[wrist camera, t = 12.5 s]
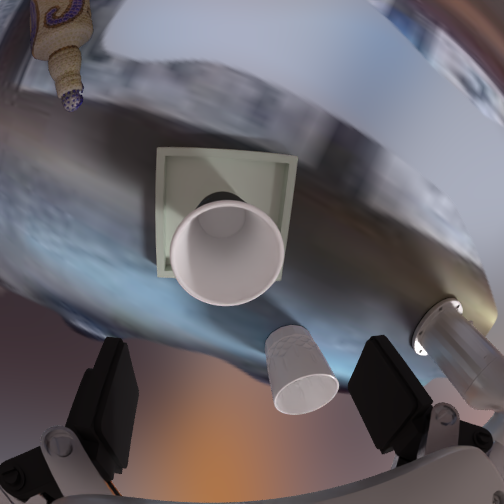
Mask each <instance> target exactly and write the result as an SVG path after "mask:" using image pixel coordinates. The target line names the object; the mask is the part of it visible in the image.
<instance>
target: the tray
mask: <svg viewBox="0 0 504 504" xmlns="http://www.w3.org/2000/svg"><path fill="white" fill-rule="evenodd" d="M297 162H298V157H297V156H294V155H287V154H278V153H269V152H258V151H247V150H234V149H218V148H197V147H157V160H156V198H155V218H156V257H157V276H158V277H165V278H176V277H175V275H174V273H173V271H172V267H171V263H170V245H171V241H172V237H173V235H174V232H175V231H176V229H177V227H178V226H179V224H180V223H181V222H182V220H183V219H184V218H185V217H186V216H187V215H188V214H190V213H191V212H192V211H194V210H195V209H196V207H197V206H198V205H199V203H200V202H201V201H202V200H203V199H204V198H205V197H206V196H208V195H210V194H212V193H215V192H220V191H225V192H230V193H233V194H235V195H237V196H238V197H240V198H241V199H242V200H244V201H245V202H246V203H248V204H251V205H253V206H255V207H257V208H259V209H260V210H262V211H263V212H265V213H266V214H267V215H268V216H269V217H270V218H271V219H272V220H273V221H274V223H275V224H276V226H277V227H278V229H279V231H280V234H281V236H282V240H283V245H284V257H285V251H286V244H287V237H288V230H289V223H290V216H291V209H292V201H293V194H294V186H295V178H296V170H297ZM283 264H284V259H283ZM283 264H282V267H281V270H280V273H279V275H278V277H277V278H276V280H275V281H281V277H282V270H283Z"/></svg>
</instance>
